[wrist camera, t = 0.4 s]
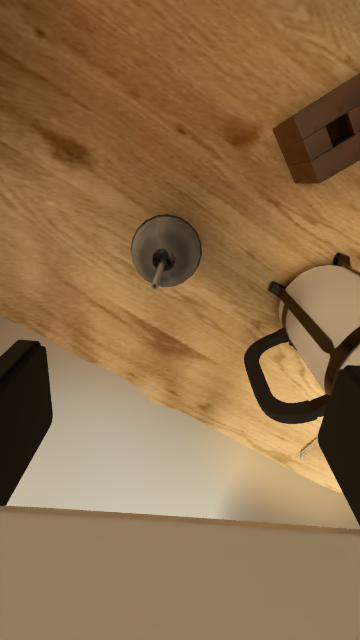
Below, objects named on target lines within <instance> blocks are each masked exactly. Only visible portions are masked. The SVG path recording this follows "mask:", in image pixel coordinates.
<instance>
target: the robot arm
mask: <svg viewBox="0 0 360 640" xmlns="http://www.w3.org/2000/svg"><path fill="white" fill-rule="evenodd" d="M52 417H53V413H52V403H51V395H50V383H49V373H48V364H47V355H46V348H45V347H44V346H41V345H40V343H39V342H38V341H29V340H18V341H16V343H14V344H13V345H12V346H11V347H10V348H9V349H8V350H7V351H6V352H5V353H4V354H3V355H1V356H0V640H360V530H356V529H344V528H331V527H318V526H304V525H291V524H278V523H264V522H250V521H236V520H220V519H207V518H193V517H178V516H163V515H148V514H133V513H117V512H102V511H84V510H69V509H54V508H39V507H15V506H6V504H7V502H8V501H9V499H10V497H11V495H12V493H13V492H14V490H15V488H16V486H17V485H18V483H19V481H20V479H21V477H22V476H23V474H24V472H25V470H26V468H27V467H28V465H29V463H30V461H31V460H32V458H33V456H34V454H35V452H36V451H37V449H38V447H39V445H40V444H41V442H42V440H43V438H44V436H45V435H46V433H47V431H48V429H49V427H50V425H51V423H52ZM318 443H319V446H320V448H321V450H322V452H323V454H324V456H325V458H326V460H327V462H328V464H329V466H330V468H331V470H332V472H333V474H334V476H335V478H336V480H337V482H338V484H339V486H340V488H341V490H342V492H343V494H344V496H345V497H346V499H347V501H348V503H349V505H350V507H351V509H352V511H353V513H354V515H355V517H356V519H357V521H358V523H359V525H360V366H357V365H346V366H345V367H344V369H340V370H339V371H338V374H337V377H336V380H335V383H334V386H333V389H332V392H331V396H330V399H329V402H328V405H327V408H326V411H325V414H324V417H323V421H322V424H321V427H320V430H319V433H318Z"/></svg>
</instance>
